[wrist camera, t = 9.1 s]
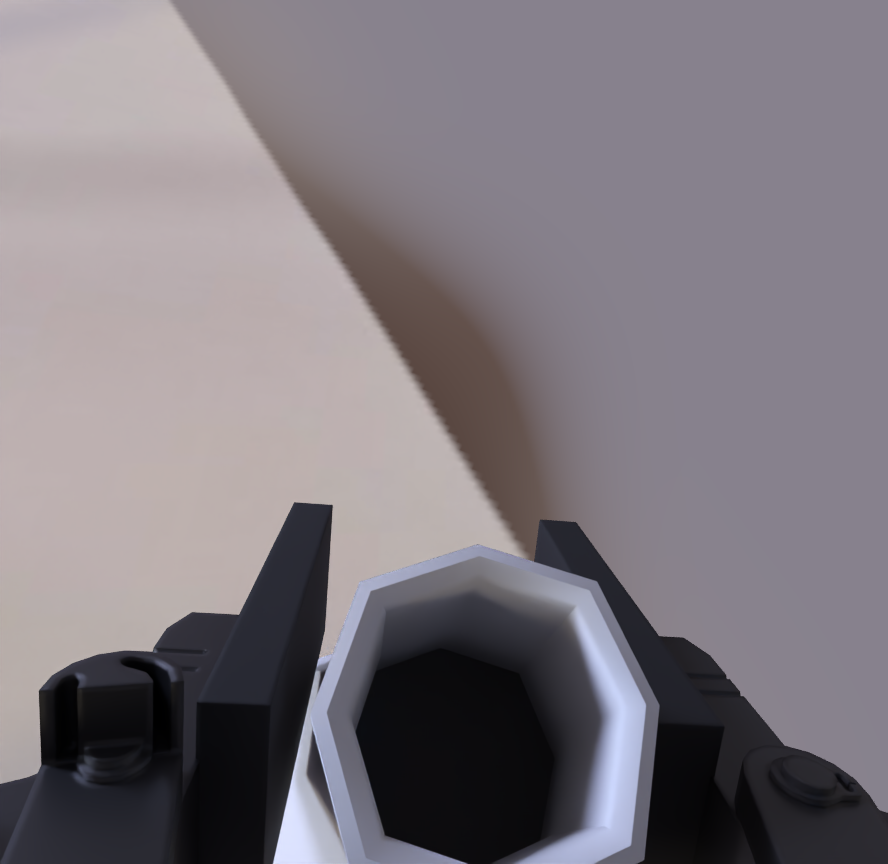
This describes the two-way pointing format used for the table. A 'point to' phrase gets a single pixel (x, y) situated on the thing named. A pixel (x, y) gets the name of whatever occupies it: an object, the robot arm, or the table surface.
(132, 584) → the table surface
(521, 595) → the flask
